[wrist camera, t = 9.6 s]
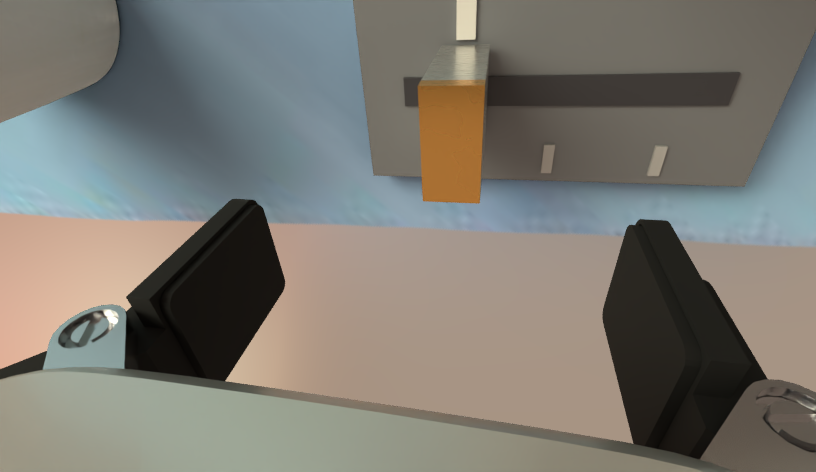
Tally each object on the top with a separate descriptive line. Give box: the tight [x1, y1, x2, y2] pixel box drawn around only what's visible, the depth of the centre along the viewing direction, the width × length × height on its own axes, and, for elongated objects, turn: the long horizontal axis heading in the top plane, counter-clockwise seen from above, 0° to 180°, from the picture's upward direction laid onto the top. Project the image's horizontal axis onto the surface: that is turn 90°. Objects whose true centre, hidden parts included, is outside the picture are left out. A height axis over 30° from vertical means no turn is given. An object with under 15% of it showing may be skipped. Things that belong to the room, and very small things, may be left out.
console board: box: [353, 0, 816, 186], centre depth 23 cm, size 22×11×2 cm, turn 93°
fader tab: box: [418, 44, 490, 203], centre depth 20 cm, size 2×5×8 cm, turn 3°
